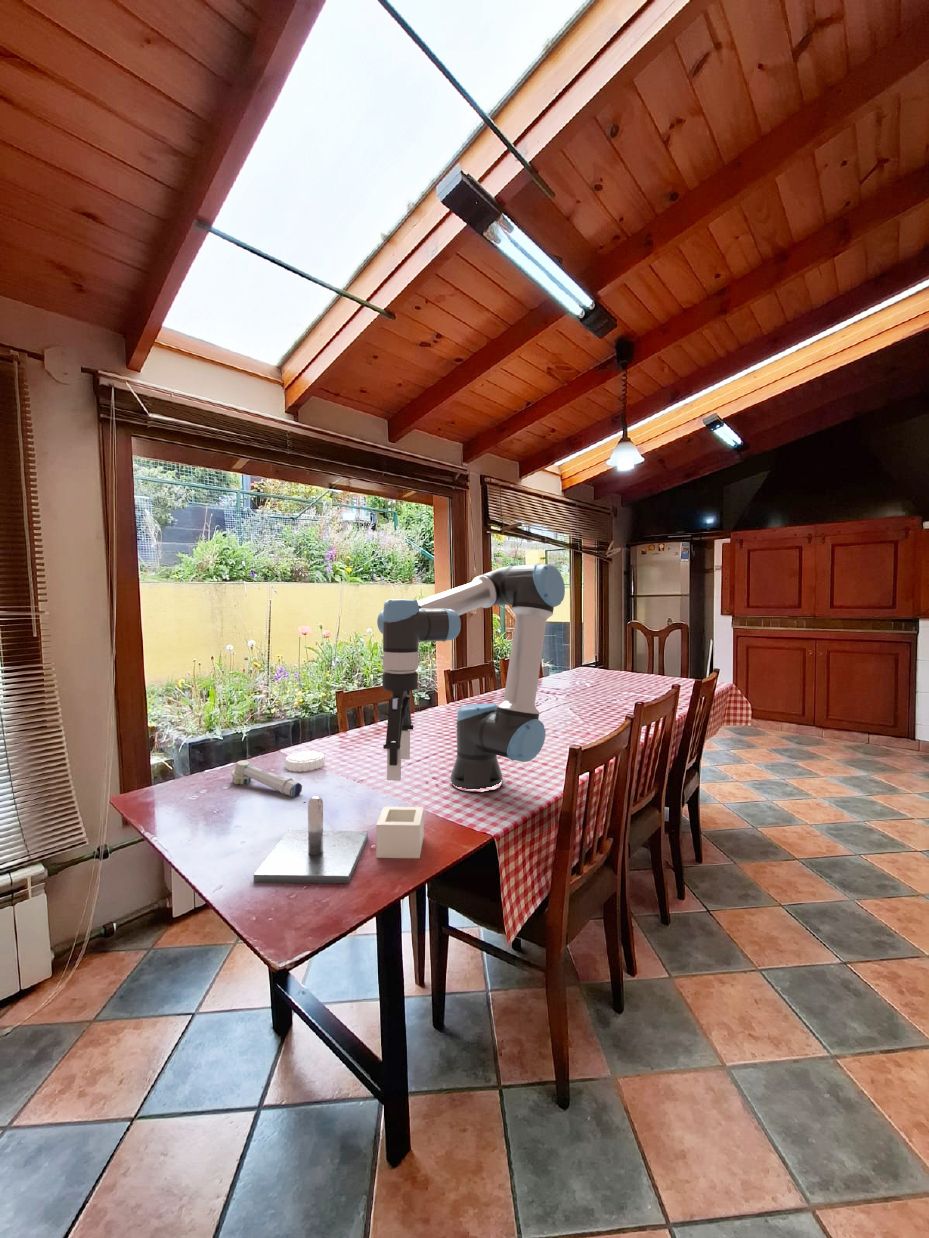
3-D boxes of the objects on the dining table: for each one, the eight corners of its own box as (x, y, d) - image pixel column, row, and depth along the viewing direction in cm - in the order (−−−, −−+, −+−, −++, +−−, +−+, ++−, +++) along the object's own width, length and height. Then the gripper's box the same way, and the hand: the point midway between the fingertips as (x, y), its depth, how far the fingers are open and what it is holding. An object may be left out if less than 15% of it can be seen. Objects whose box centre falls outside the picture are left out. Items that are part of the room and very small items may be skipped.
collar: (423, 837, 112) (423, 806, 112) (419, 858, 103) (419, 825, 103) (383, 836, 113) (383, 806, 112) (376, 857, 104) (376, 824, 103)
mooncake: (332, 764, 162) (332, 753, 162) (301, 775, 152) (301, 763, 152) (308, 757, 169) (308, 747, 168) (277, 767, 159) (277, 756, 159)
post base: (367, 837, 112) (367, 780, 112) (348, 883, 94) (348, 815, 94) (288, 836, 112) (287, 780, 112) (253, 882, 94) (253, 814, 94)
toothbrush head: (289, 786, 133) (228, 758, 144) (287, 809, 133) (226, 780, 145) (304, 779, 137) (244, 753, 149) (302, 802, 138) (242, 775, 149)
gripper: (392, 663, 119) (391, 751, 120) (370, 679, 95) (369, 789, 95) (423, 664, 119) (422, 751, 120) (410, 680, 94) (408, 790, 95)
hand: (399, 768), depth 108 cm, fingers open, 13 cm apart
